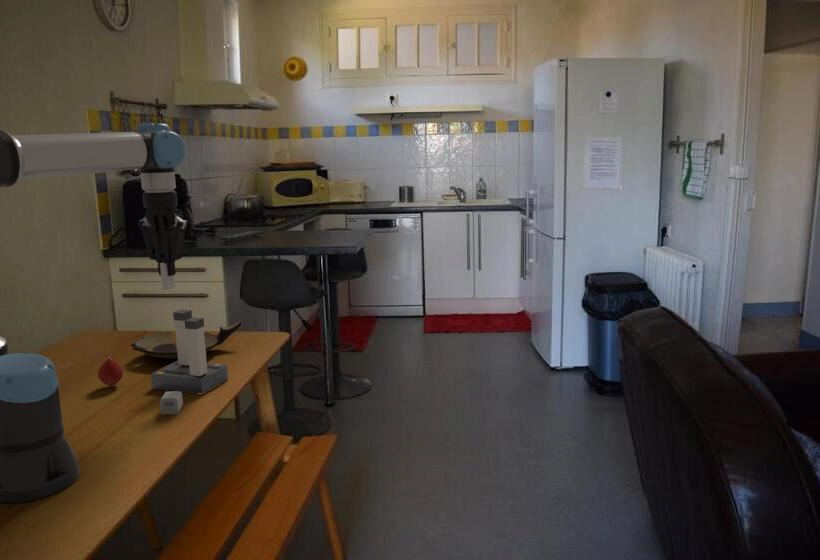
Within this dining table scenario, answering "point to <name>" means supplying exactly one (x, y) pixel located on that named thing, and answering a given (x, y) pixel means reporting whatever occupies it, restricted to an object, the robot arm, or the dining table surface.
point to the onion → (110, 372)
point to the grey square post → (196, 346)
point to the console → (188, 378)
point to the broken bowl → (166, 347)
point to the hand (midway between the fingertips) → (168, 288)
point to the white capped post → (182, 335)
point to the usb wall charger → (171, 402)
